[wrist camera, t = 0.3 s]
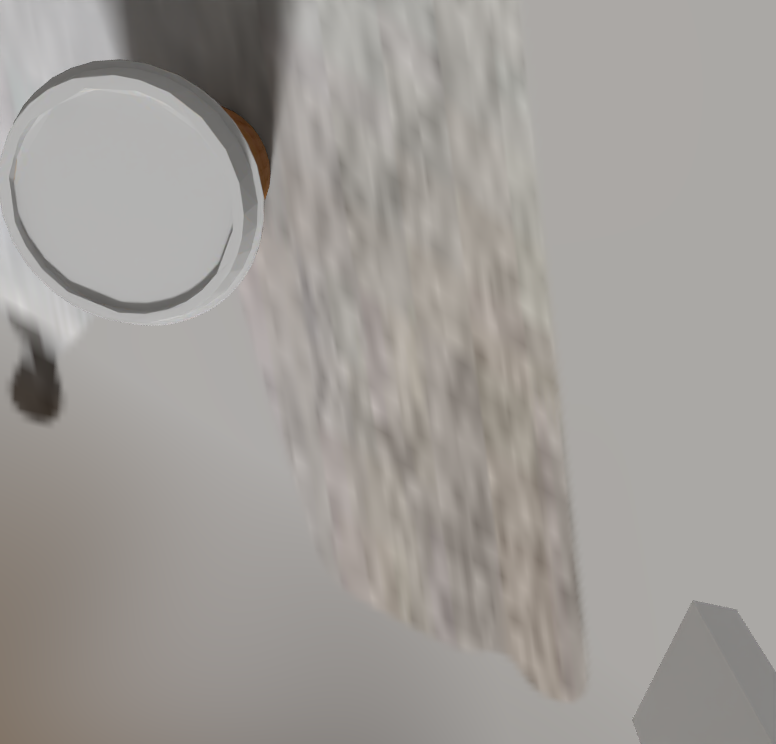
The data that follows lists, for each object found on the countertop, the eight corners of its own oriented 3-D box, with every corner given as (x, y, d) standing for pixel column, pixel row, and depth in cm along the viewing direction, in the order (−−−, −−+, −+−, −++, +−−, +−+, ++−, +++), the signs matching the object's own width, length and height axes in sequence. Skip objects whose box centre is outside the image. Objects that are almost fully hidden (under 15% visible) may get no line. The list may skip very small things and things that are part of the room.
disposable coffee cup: (303, 73, 34) (255, 67, 23) (301, 267, 38) (258, 342, 27) (105, 61, 34) (-38, 49, 23) (122, 256, 38) (5, 328, 27)
